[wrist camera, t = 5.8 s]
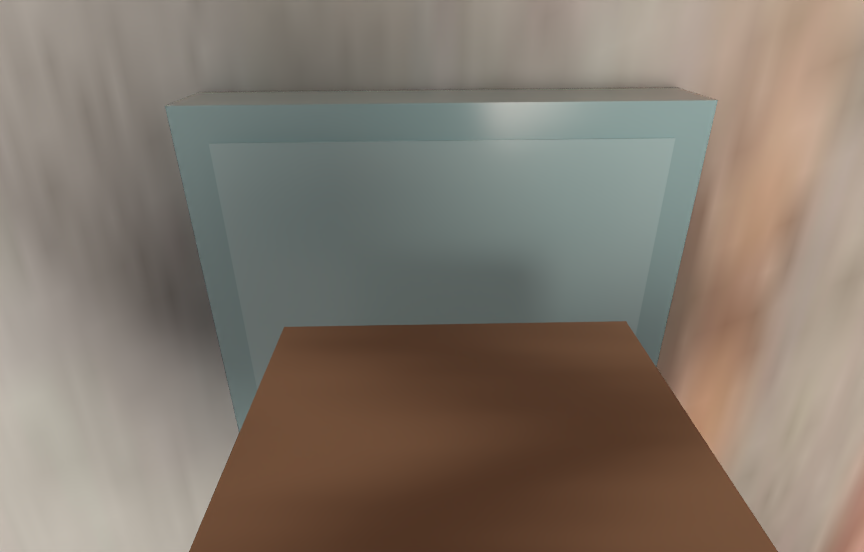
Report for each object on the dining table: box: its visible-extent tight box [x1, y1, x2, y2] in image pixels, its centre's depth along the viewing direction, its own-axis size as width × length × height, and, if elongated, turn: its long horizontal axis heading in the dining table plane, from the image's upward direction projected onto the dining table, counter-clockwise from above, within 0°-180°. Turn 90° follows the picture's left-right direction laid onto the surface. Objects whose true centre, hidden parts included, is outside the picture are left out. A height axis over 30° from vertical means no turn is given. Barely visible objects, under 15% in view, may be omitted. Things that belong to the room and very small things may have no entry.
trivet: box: [165, 88, 718, 432], centre depth 15 cm, size 12×12×2 cm
